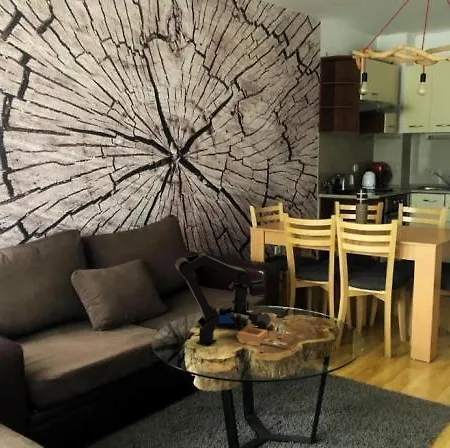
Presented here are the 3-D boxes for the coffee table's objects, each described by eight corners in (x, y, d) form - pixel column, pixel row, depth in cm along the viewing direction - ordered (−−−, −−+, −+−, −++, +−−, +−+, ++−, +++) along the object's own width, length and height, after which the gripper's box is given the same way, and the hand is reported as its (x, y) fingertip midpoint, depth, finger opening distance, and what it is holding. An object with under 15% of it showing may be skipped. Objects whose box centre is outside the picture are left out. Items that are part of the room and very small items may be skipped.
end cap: (266, 335, 245) (266, 320, 244) (251, 334, 247) (251, 319, 246) (270, 327, 255) (271, 313, 253) (255, 326, 256) (255, 312, 255)
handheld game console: (247, 320, 263) (248, 302, 262) (246, 331, 250) (246, 311, 249) (215, 319, 265) (214, 301, 263) (211, 330, 252) (211, 310, 250)
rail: (276, 356, 223) (277, 350, 223) (227, 345, 234) (227, 339, 234) (294, 341, 239) (294, 335, 238) (247, 331, 250) (247, 325, 250)
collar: (259, 346, 233) (259, 336, 232) (238, 342, 238) (238, 332, 237) (267, 340, 240) (267, 330, 239) (246, 336, 244) (246, 326, 244)
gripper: (268, 295, 241) (267, 329, 243) (230, 289, 250) (230, 322, 252) (256, 303, 231) (256, 338, 234) (217, 296, 240) (218, 330, 243)
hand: (240, 332), depth 241 cm, fingers closed
